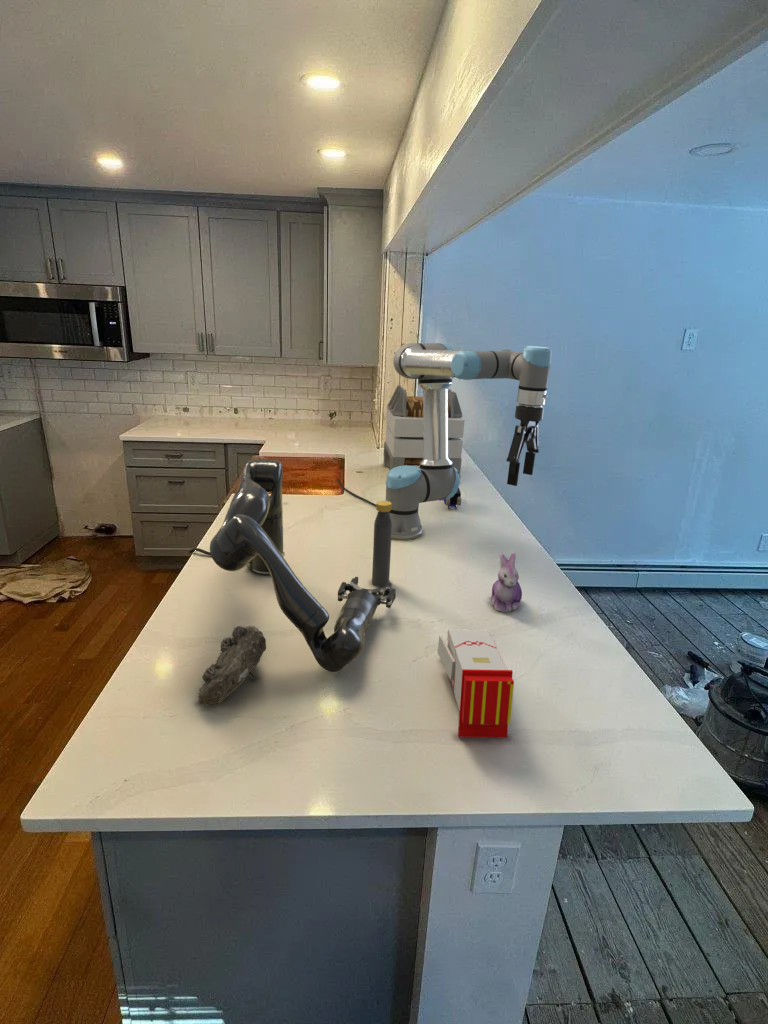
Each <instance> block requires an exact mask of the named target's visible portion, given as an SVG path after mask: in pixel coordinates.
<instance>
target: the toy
mask: <svg viewBox="0 0 768 1024" xmlns="http://www.w3.org/2000/svg"><path fill="white" fill-rule="evenodd" d="M446 640H447V643H446V641H445V639H444V636H443V635H442V634H439V637H438V646H437V656H438V657H439V659H440V661H441V663H442V666H443V668H444V670H445V672H446V674H447V677H448V679H449V681H450V684H451V687H452V690H453V693H454V697H455V701H456V705H457V708H458V711H459V714H458V715H459V716H458V730H457V731H458V732H457V737H458V738H508V731H509V726H510V725H511V717H512V707H513V697H514V696H513V695H514V684H515V680H514V679H513V673H514V671H513V670H512V669H508V667H507V665H506V662H505V661H504V659H503V658H502V655H501V653H500V651H499V649H498V647H497V643H496V639H495V637H494V635H493V634H491V632H490V631H489V629H467V628H466V629H465V628H463V629H461V628H460V629H459V628H448V630H447V639H446Z"/></svg>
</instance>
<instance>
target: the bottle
mask: <svg viewBox="0 0 768 1024" xmlns="http://www.w3.org/2000/svg"><path fill="white" fill-rule="evenodd" d="M373 524H374V525H373V547H372V570H371V571H372V573H371V584H372V585H373V586H375V587H377V588H379V587H380V588H383V587H384V586H385V584H386V581H390V573H391V553H392V539H391V535H392V521H391V518H390V513H389V512H380V511H377V514H376V517H375V520H374V523H373Z"/></svg>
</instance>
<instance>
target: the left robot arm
mask: <svg viewBox="0 0 768 1024" xmlns="http://www.w3.org/2000/svg"><path fill="white" fill-rule="evenodd" d="M283 483H284V468H283V464H282V462H281V461H280V460H278V459H277V460H276V459H251V460H248V461H247V462H246V463H245V464H244V467H243V470H242V474H241V478H240V482H239V485H238V487H237V489H236V492H234V495H233V497H232V499H231V502H230V504H229V507H228V509H227V511H226V514H225V516H224V520H223V522H222V525H221V527H220V528H219V530H218V531H217V532H216V534H215V535H214V536H213V538H211V540H210V544H209V551H207V550H205V549H202V548H199V547H194V548H191V549H190V550H188V553H189V554H192V553H194V552H199V553H202V554H204V555H207V556H211V558H212V560H213V562H214V563H215V564H216V565H217V566H218V568H220V569H221V570H224V571H227V572H238V571H240V570H242V569H243V568H245V567H246V566H247V565H249V571H252V572H254V573H256V574H258V575H270V578H271V581H272V585H273V589H274V590H273V591H274V594H275V598H276V601H277V604H278V607H279V608H280V610H281V612H282V613H283V614H284V616H285V618H287V619H288V620H289V621H290V622H291V623H292V625H294V627H295V628H296V629H298V631H299V633H301V634H302V636H303V639H304V640H305V642H306V644H307V645H308V647H309V650H310V651H311V653H312V655H313V657H314V659H315V660H316V662H317V664H318V665H319V666H320V667H321V669H323V670H324V671H327V672H329V673H332V674H333V673H334V674H335V673H338V672H341V670H343V669H344V668H345V667H347V666H348V665H349V664H350V663H351V662H352V661H354V660H355V659H356V658H357V657H358V656H359V655H360V654H361V653H362V651H363V650H364V648H365V633H366V631H367V629H368V628H369V626H370V624H371V623H372V620H373V617H374V615H375V613H376V612H377V611H376V610H377V609H378V606H380V605H385V608H387V609H390V608H392V606H393V603H394V602H395V600H396V592H397V590H396V588H392V582H390V580H389V581H386V584H385V586H384V587H376V588H374V589H373V588H371V589H370V588H369V589H368V588H363V587H360V586H359V585H358V584H359V576H355V577H353V578H351V580H350V581H349V582H348V583H347V582H345V581H343V582H341V584H340V586H339V587H338V589H337V601H338V602H342V601H343V600H345V602H344V604H343V605H342V607H341V610H340V613H339V615H338V617H337V619H336V620H335V624H334V627H333V633H332V634H330V635H329V636H328V637H327V636H326V633H325V629H324V628H325V626H326V625H327V623H328V622H329V620H330V613H329V612H328V610H327V609H326V608H325V607H324V606H323V605H322V604H321V603H320V602H319V601H318V600H317V599H316V597H314V595H313V594H312V593H311V592H310V591H309V590H308V589H307V588H306V587H305V585H304V584H303V583H302V582H301V580H300V579H299V578H298V576H297V575H296V574H295V572H294V571H293V569H292V568H291V567H290V565H289V563H288V562H287V560H286V558H285V555H286V554H285V551H284V516H283V514H284V512H283V511H284V510H283V485H284V484H283ZM269 494H270V495H269ZM195 550H196V551H195ZM347 591H348V592H349V593H347Z"/></svg>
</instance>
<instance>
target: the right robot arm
mask: <svg viewBox="0 0 768 1024" xmlns="http://www.w3.org/2000/svg"><path fill="white" fill-rule="evenodd" d="M552 353H553V351H552V349H551V348H550V347H548V346H539V345H538V346H536V345H526V346H524V348H523V351H522V352H520V351H516V350H515V351H514V350H511V349H498V350H471V349H469V350H468V349H465V350H464V349H463V350H461V349H457V350H456V349H455V348H454V347H453V346H452V345H451V344H447V343H441V342H432V343H431V342H423V343H420V342H419V343H418V342H411V343H406V344H404V345H401V346H400V347H399V348H398V349H397V350H396V351H395V353H394V355H393V367H394V370H395V371H396V372H397V374H399V376H400V377H403V378H405V379H409V380H417V384H418V386H419V387H420V388H421V389H422V397H423V436H424V459H423V460H422V461H421V462H420V466H412V465H409V466H407V465H404V466H398V467H395V468H393V469H391V470H390V469H389V470H388V472H387V475H386V479H385V501H389V502H391V504H392V508H391V511H389V513H390V518H391V521H392V535H391V540H395V541H410V540H415V539H418V538H420V537H421V536H422V535H423V525H422V524H421V518H420V515H419V507H420V506H419V505H420V504H421V503H422V504H423V503H428V502H429V503H430V502H436V501H443V500H444V499H449V498H451V497H453V496H454V494H456V492H457V490H458V488H459V489H460V483H461V478H460V479H459V474H457V473H458V471H457V470H456V468H454V467H453V463H452V462H451V461H450V460H449V458H448V389H449V388H450V386H452V384H453V379H454V378H456V379H458V380H464V381H471V380H497V379H498V380H500V379H509V380H515V381H519V382H518V386H517V387H518V388H517V395H516V403H517V404H516V406H515V411H514V418H515V419H516V420H518V421H520V422H519V425H517V424H516V425H515V427H514V434H513V437H512V439H511V440H512V441H511V444H510V448H509V451H508V454H507V458H506V462H509V466H508V473H507V481H506V485H510V486H514V487H517V486H518V482H519V476H520V475H519V474H520V467H521V462H520V460H521V458H522V456H523V455H522V454H523V452H524V449H525V446H526V451H525V454H524V462H523V469H522V474H524V475H529V476H532V475H533V474H534V467H535V460H536V454H539V453H540V449H539V448H540V442H539V441H540V440H539V438H540V433H539V431H540V428H539V427H540V422H541V421H543V418H544V412H545V408H544V406H545V403H546V399H548V397H549V396H548V394H547V391H548V383H549V378H550V372H551V367H552V355H553V354H552ZM336 480H337V482H338V485H339V486H340V487H341V488H342V489H343V490H344V491H346V492H347V493H349V494H350V495H351V496H354V497H356V498H358V499H360V500H362V501H364V502H366V503H368V504H369V505H371V506H373V507H376V504H377V503H374V502H373V501H370V500H368V499H366V498H364V497H361V496H360V495H358V494H356V493H354V492H352V491H351V490H349V489H347V488H346V487H345V486H344V485H343V484H342V482H341V481H340V479H339V478H338V477H337V478H336Z"/></svg>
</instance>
